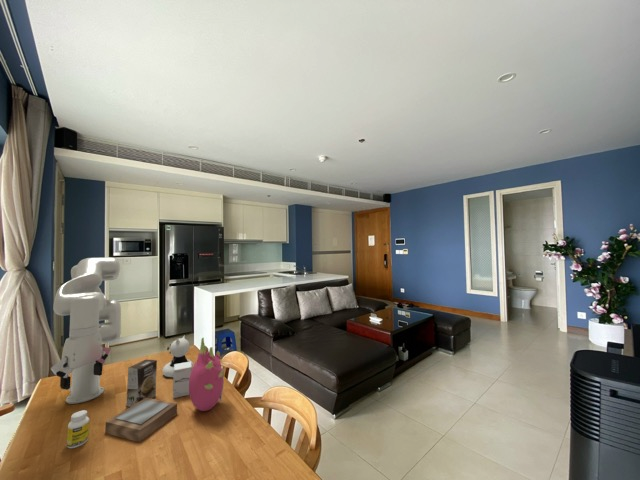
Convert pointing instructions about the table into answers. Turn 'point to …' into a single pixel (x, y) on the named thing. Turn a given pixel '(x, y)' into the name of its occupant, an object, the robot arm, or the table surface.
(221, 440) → the table surface
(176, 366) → the supplement box
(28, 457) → the table surface
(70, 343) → the robot arm
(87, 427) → the supplement bottle
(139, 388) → the coffee box
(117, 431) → the walnut stand
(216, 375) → the pink dragon fruit
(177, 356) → the decorative figurine
